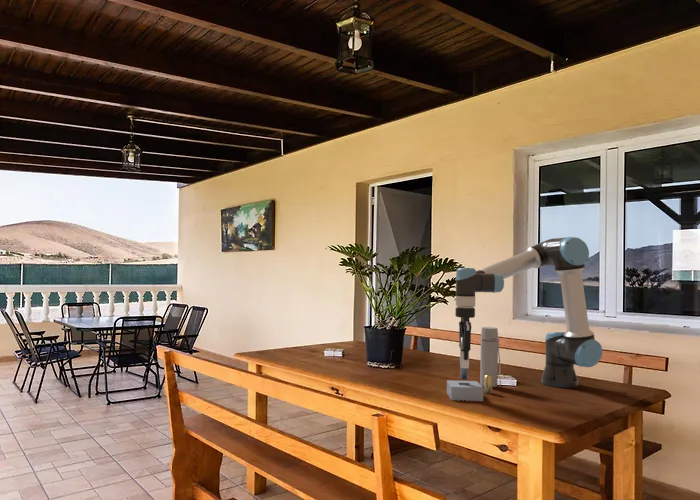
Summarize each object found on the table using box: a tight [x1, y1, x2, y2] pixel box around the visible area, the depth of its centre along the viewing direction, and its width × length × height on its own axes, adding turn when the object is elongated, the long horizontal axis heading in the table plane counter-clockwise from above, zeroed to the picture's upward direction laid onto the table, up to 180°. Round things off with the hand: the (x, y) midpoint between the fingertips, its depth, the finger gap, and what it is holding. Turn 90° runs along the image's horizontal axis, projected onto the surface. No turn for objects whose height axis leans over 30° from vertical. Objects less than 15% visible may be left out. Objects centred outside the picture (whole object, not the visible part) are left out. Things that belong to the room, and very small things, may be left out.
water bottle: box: [479, 326, 502, 389], centre depth 224 cm, size 9×8×25 cm
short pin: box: [483, 375, 493, 395], centre depth 211 cm, size 3×3×7 cm
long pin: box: [459, 337, 469, 381], centre depth 204 cm, size 3×3×16 cm
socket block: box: [446, 379, 484, 402], centre depth 203 cm, size 12×12×5 cm
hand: (464, 367), depth 204 cm, fingers closed on long pin, 3 cm apart
